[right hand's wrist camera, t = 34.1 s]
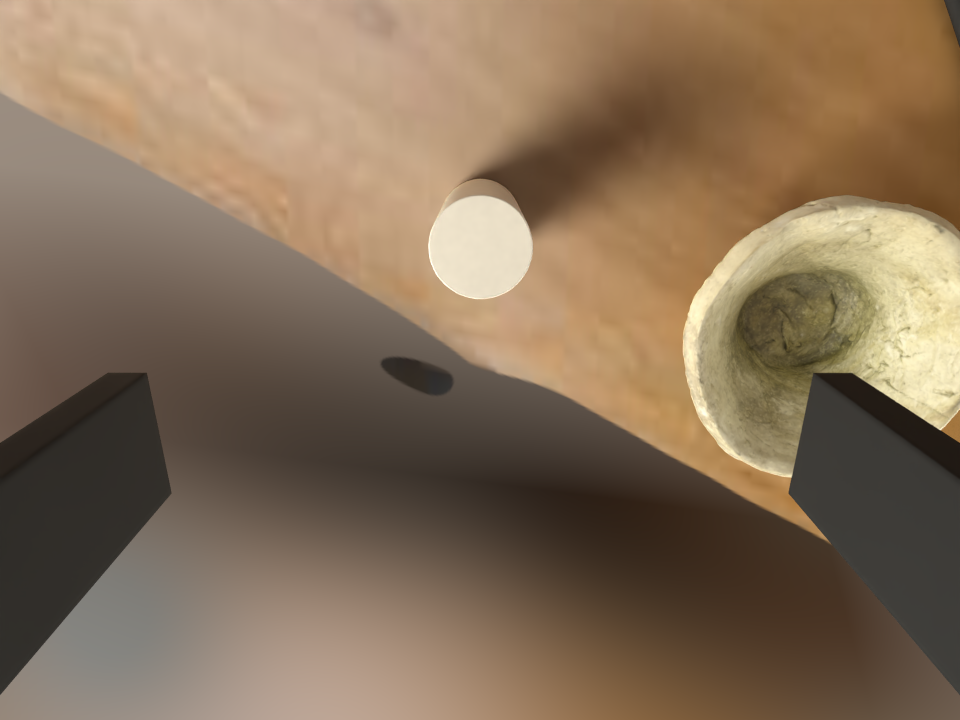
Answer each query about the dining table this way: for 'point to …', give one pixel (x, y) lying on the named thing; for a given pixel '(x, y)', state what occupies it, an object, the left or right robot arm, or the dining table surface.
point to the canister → (480, 240)
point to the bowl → (825, 321)
